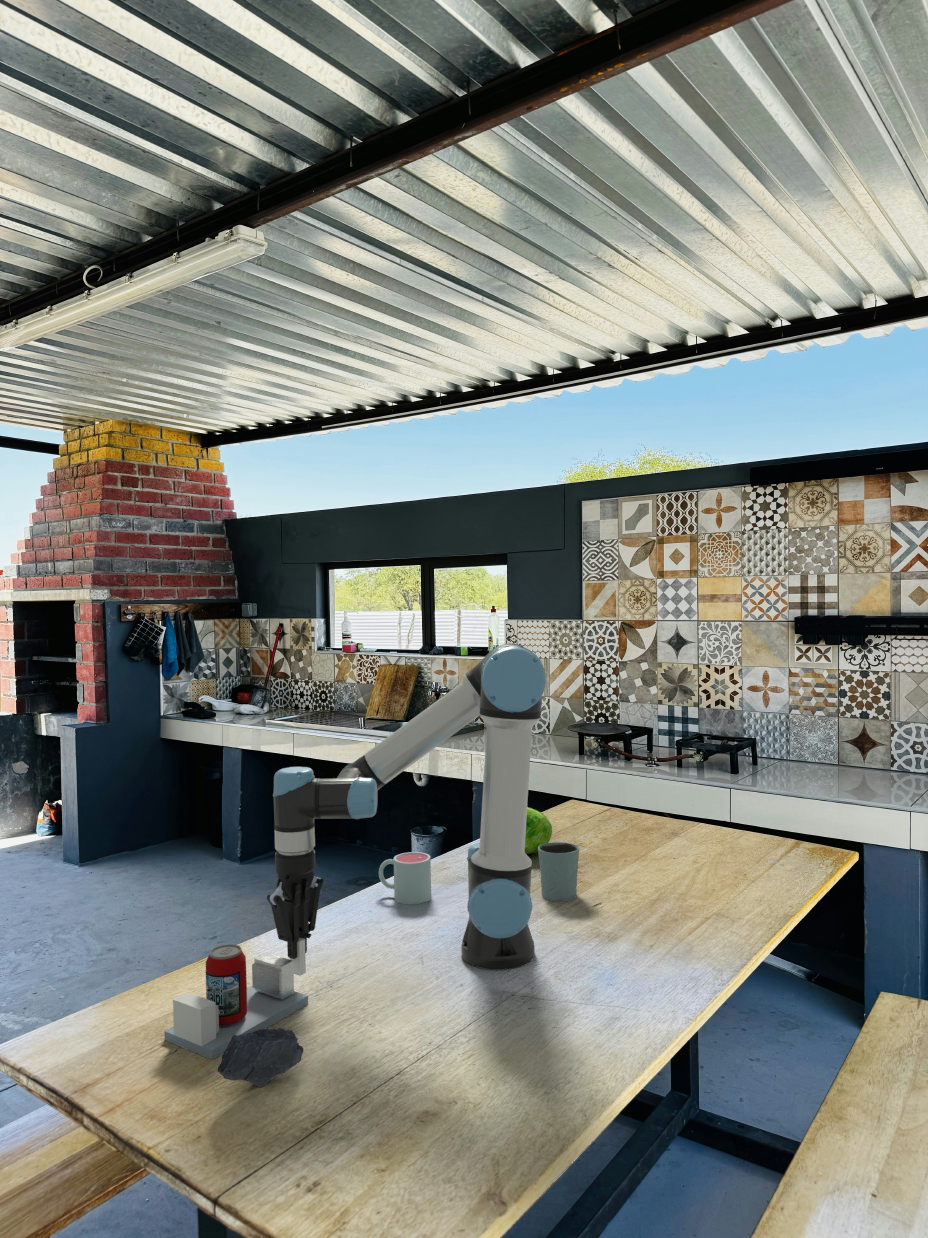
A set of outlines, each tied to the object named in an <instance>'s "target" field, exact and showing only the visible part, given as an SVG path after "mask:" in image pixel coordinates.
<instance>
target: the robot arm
mask: <svg viewBox="0 0 928 1238" xmlns="http://www.w3.org/2000/svg"><path fill="white" fill-rule="evenodd" d="M546 684H547V675H546V671H545V667H544V665H543V663H542V661H541V660H540V659H539V657H538V656H537V655H536V654H535V652H533V651H532V650H531V649H529V648H527V647H525V646H523V645H520V644H519V643H503V644H500V645H498V646H496V647H494V648H492V649H491V650H490V651H489V652H488V653H487V654H486V655H485V656H484V657H483V658H482V659H481V660H480V661H479V662H478V663H477V664H476V665H475V666H473V667H472V668H471V669H469V670H468V671H467V672H466V673H464V674H463V677H462V681H461V682H460V683H459V684H458V685H456V686H455V687H454V688H453V689H451V690H449V691H448V692H447V693H445V694H444V695H443V696H441V697H440V698H439V699H437V700H436V701H435V702H433V703H432V704H430V705H429V706H428V707H427V708H425V709H424V710H422V711H421V712H420V713H419V714H417V715H416V716H414V717H413V718H412V719H410V720H409V721H407V722H406V723H404V724H403V725H402V726H401V727H400V728H398V729H396V730H395V731H394V732H393V733H391V734H389V736H387V737H386V738H385V739H383V740H382V741H381V742H379V743H377V744H376V745H375V746H374V747H372V748H371V749H370V750H368V751H367V752H366V753H365V754H363V755H362V756H361V757H359V758H357V759H356V760H355V761H354V762H350V763H348V764H346V765H345V766H344V768H342V769H341V771H340V773H339V774H338V775H337V776H336V778H335V777H333V778H319V777H317V778H316V777H315V775H314V770H313V769H312V768H310V767H308V766H289V767H283V768H281V769H279V770H277V771H276V772H275V774H274V776H273V793H272V797H273V813H274V815H273V816H274V849H275V850H276V852H275V854H274V869H275V872H276V873H277V877H278V879H277V882H276V889H274V890H275V891H274V892H273V893H268V894H267V896H266V899H267V901H268V903H269V904H270V906H271V911H272V916H273V920H274V925H275V929H276V933H277V938H278V940H280V941H284V942H286V943H287V946H286V947H287V951H286V952H287V959H289V960H293V969H294V975H296V976H300V977H301V976H302V975H304V974H307V973H306V972H307V971H306V966H307V965H306V954H307V951H308V939H311V937H312V933H310V932H314V931H315V929H316V923H317V922H316V921H317V916H318V909H319V908H318V906H319V901H320V893H321V889H322V887H323V884H324V879H323V877H318V876H315V872H314V870H315V869H316V850H315V849H314V848H315V847H316V833H315V831H316V829H315V825H316V824H315V819H317V820H319V819H321V820H322V819H327V820H328V819H353V820H354V819H355V820H360V819H366V818H373V817H374V816H375V815H376V814H377V811H378V810H377V809H378V791H379V790H380V789H381V788H382V787H384V786H385V785H387V784H388V783H389V782H390V781H392V780H393V779H394V778H396V777H397V776H398V775H400V774H401V773H403V772H404V771H405V770H407V769H408V768H409V767H411V766H412V765H414V764H415V763H416V762H417V761H419V760H420V759H422V758H423V757H425V756H426V755H428V753H430V752H432V751H433V750H434V749H436V748H437V747H438V746H440V745H441V744H443V742H445V741H446V740H448V739H449V738H451V737H452V736H454V735H455V734H456V733H458V732H459V731H460V730H461V729H463V728H464V727H466V726H467V725H469V724H470V723H471V722H472V721H474V720H475V719H477V718H478V717H480V718H481V719H482V720H483V721H484V723H486V733H485V734H486V735H485V749H484V751H485V752H484V767H483V769H484V770H483V781H482V783H483V785H482V801H481V816H480V817H481V820H480V831H479V832H480V833H479V834H480V836H479V842H478V843H474V844H472V845H470V846H469V847H468V849H467V856H466V861H467V871H468V872H467V874H468V875H467V878H468V879H467V881H468V882H467V883H468V887H467V888H468V900H467V912H468V915H469V916H468V921H467V924H466V927H465V931H464V934H463V937H462V940H461V944H460V945H461V950H460V951H461V958H462V959H463V961H465V963H467V964H469V965H470V966H473V967H475V968H479V969H483V970H491V971H492V970H493V971H498V970H500V971H501V970H502V971H503V970H512V969H516V968H517V969H518V968H520V967H523V966H525V965H527V964H529V963H531V962H532V961H533V959H534V958H535V952H536V951H535V942H534V939H533V935H532V933H531V930H530V927H529V921H530V919H531V916H532V911H533V902H532V897H531V887H532V886H531V882H532V868H533V861H532V859H531V858H530V857H529V855H528V854H526V853H525V835H526V819H527V807H528V797H529V785H530V784H529V783H530V768H531V767H530V766H531V763H530V762H531V750H532V736H533V735H532V732H533V727H534V726H535V725H536V724H537V723H538V722H539V721H541V718H542V717H541V715H542V705H543V704H542V702H543V695H544V692H545V688H546Z"/></svg>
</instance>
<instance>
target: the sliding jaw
mask: <svg viewBox="0 0 928 1238" xmlns="http://www.w3.org/2000/svg"><path fill="white" fill-rule="evenodd" d="M253 960H254V963H251V973H252V974H251V975H252V986H253V988H255V991H258V992H261V993H264V994H267V995H270V996H273V997H276V998H279V999H282V1000H283V999H284V998H286V997H288V996H290V995H292V994H293V993H294V991H295V974H294V969H293V960H290V958H285V957H283V956H280V955H279V956H278V955H276V954H272V953H269V952H265V953H263V954H261V955H259V956H257V957H255V958H254V959H253Z"/></svg>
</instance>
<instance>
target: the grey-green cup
mask: <svg viewBox="0 0 928 1238" xmlns="http://www.w3.org/2000/svg"><path fill="white" fill-rule="evenodd" d="M537 853H538V859H539V870H540V884H541V885H540V886H541V896H542V898H543V899H545V900H547V901H551V902H557V903H558V902H559V903H560V902H563V903H564V902H570V901H572V900H574V899H575V898H576V897H577V895H578V894H577V892H578V889H577V886H578V872H579V871H578V869H579V859H580V858H579V855H580V847H579V846H578V845H576V844H575V843H570V842H564V841H563V842H560V841H557V842H556V841H555V842H548V843H545V844H542V845H540V846H539V847H538V851H537Z"/></svg>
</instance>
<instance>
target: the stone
mask: <svg viewBox="0 0 928 1238" xmlns="http://www.w3.org/2000/svg"><path fill="white" fill-rule="evenodd" d="M298 1039H299V1038H298V1037H297V1035H296V1034H295V1032H294V1031H293V1030H292V1029H285V1028H281V1027H279V1028H266V1029H260V1030H257V1031H254V1032H250V1033H247V1034H243V1035H233V1036H232V1038H231V1041H230V1042H229V1044H228V1046H227V1048H226V1050H225V1052H224V1053H223V1054H221V1055H222V1056H221V1061H220V1063H219V1064H218V1066H217V1068H216V1070H217V1073H219V1074H220V1075H221V1076H222V1077H223V1078H224V1079H225V1080H229V1081H241V1080H242V1081H245V1082H249V1083H251V1084H253V1085H254V1086H256V1087H259V1088H262V1087H265V1086H266V1085H267V1084H268V1083H269V1082H271V1080H273V1079H274V1078H275V1077H276V1076H278V1075H281V1074H284V1073H285V1072H287V1071H288V1070H290V1069H291V1068H293V1067H295V1066H296V1065H298V1064H300V1062H301V1061H302V1059H303V1058H302V1057H303V1053H304V1050H305V1049H304V1046H302V1045H300V1043H299V1042H298Z"/></svg>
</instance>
